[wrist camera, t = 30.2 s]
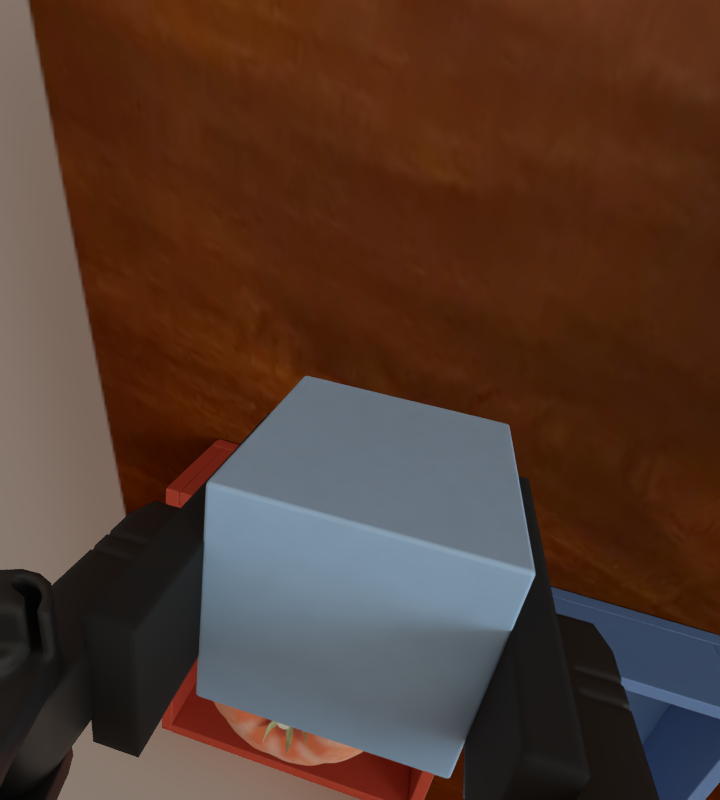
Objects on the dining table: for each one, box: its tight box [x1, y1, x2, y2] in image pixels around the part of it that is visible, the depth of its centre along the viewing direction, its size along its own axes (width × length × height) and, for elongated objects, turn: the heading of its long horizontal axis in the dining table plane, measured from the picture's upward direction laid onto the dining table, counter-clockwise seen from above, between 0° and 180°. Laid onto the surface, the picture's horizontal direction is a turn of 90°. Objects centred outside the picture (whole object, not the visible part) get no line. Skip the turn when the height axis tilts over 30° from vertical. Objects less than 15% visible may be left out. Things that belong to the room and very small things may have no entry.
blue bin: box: [463, 587, 720, 800], centre depth 27 cm, size 10×12×5 cm
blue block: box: [196, 376, 536, 778], centre depth 10 cm, size 5×5×5 cm
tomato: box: [214, 701, 363, 766], centre depth 26 cm, size 11×11×8 cm
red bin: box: [162, 439, 434, 800], centre depth 28 cm, size 16×18×5 cm
